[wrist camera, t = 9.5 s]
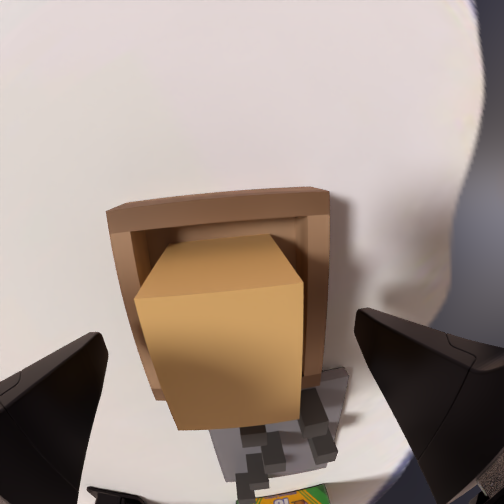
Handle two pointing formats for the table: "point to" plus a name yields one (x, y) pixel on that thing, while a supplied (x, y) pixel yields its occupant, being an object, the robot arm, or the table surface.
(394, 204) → the table surface
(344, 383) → the board
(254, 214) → the brown square tray
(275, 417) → the tan cardboard cube
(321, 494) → the chalk box
